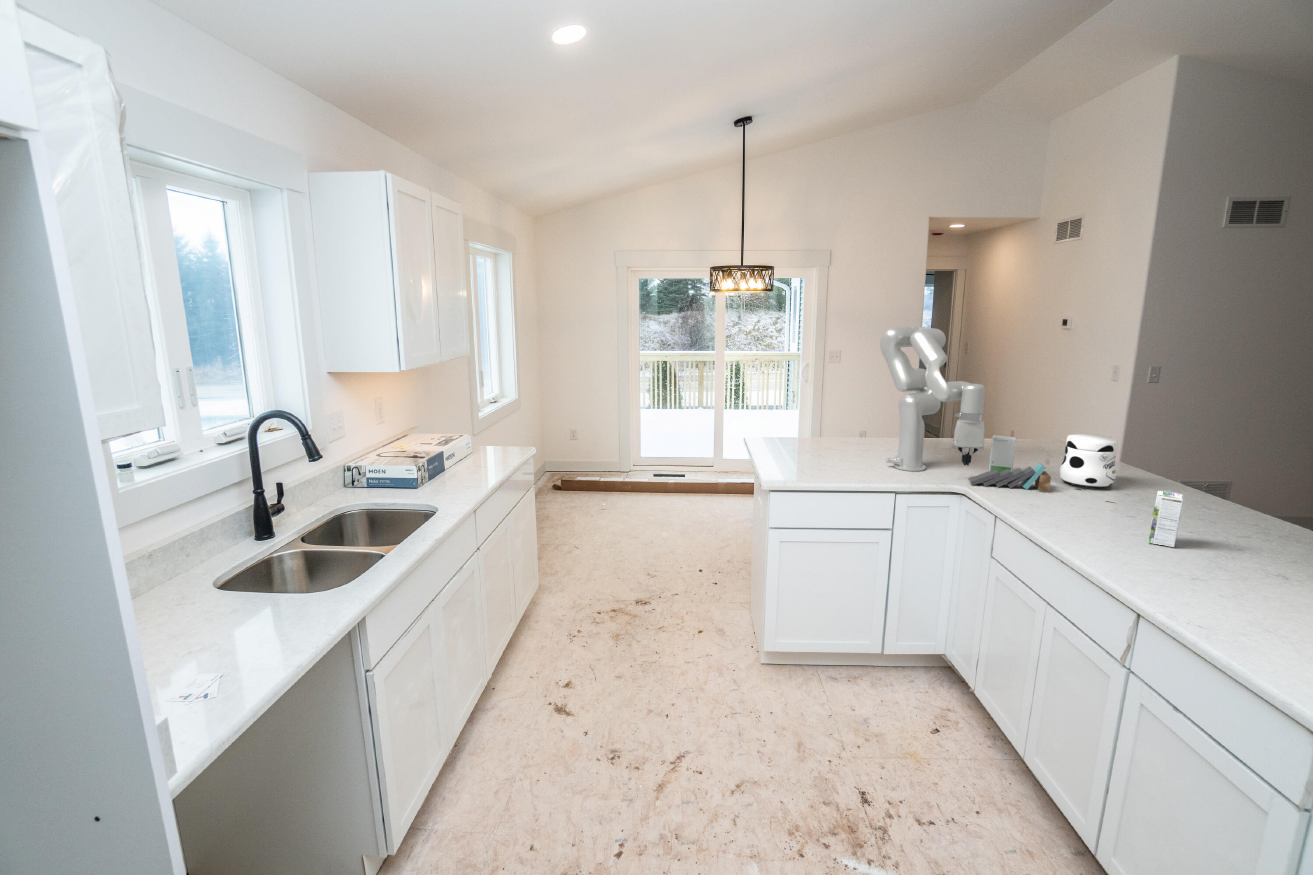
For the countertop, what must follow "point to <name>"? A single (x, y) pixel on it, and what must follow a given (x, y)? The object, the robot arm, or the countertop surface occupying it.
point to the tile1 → (984, 477)
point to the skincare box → (1002, 453)
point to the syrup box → (1166, 518)
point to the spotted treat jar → (1089, 461)
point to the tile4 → (1022, 477)
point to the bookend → (1043, 482)
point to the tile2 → (1002, 476)
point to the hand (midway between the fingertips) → (965, 464)
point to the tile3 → (1015, 473)
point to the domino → (1033, 476)
